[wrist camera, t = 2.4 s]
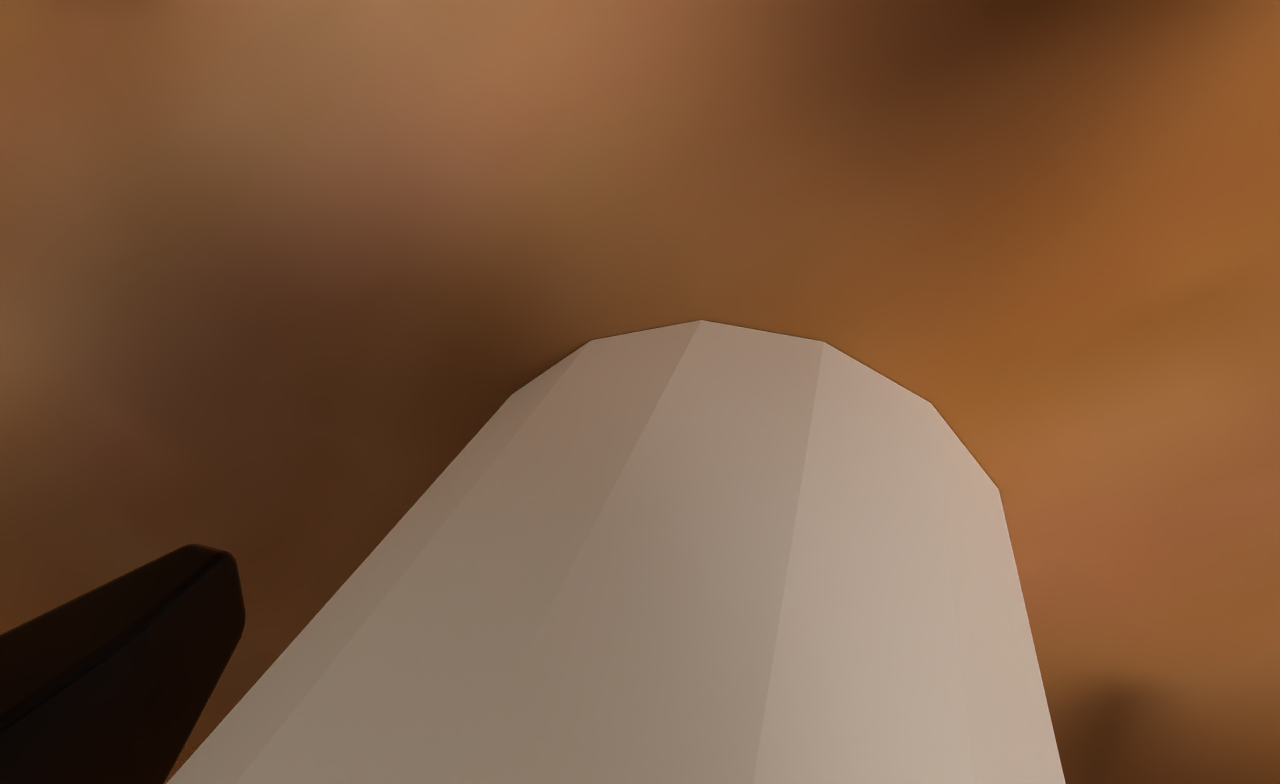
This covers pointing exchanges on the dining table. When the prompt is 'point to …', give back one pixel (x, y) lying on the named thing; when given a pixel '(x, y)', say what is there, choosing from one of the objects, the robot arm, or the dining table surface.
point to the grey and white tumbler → (673, 594)
